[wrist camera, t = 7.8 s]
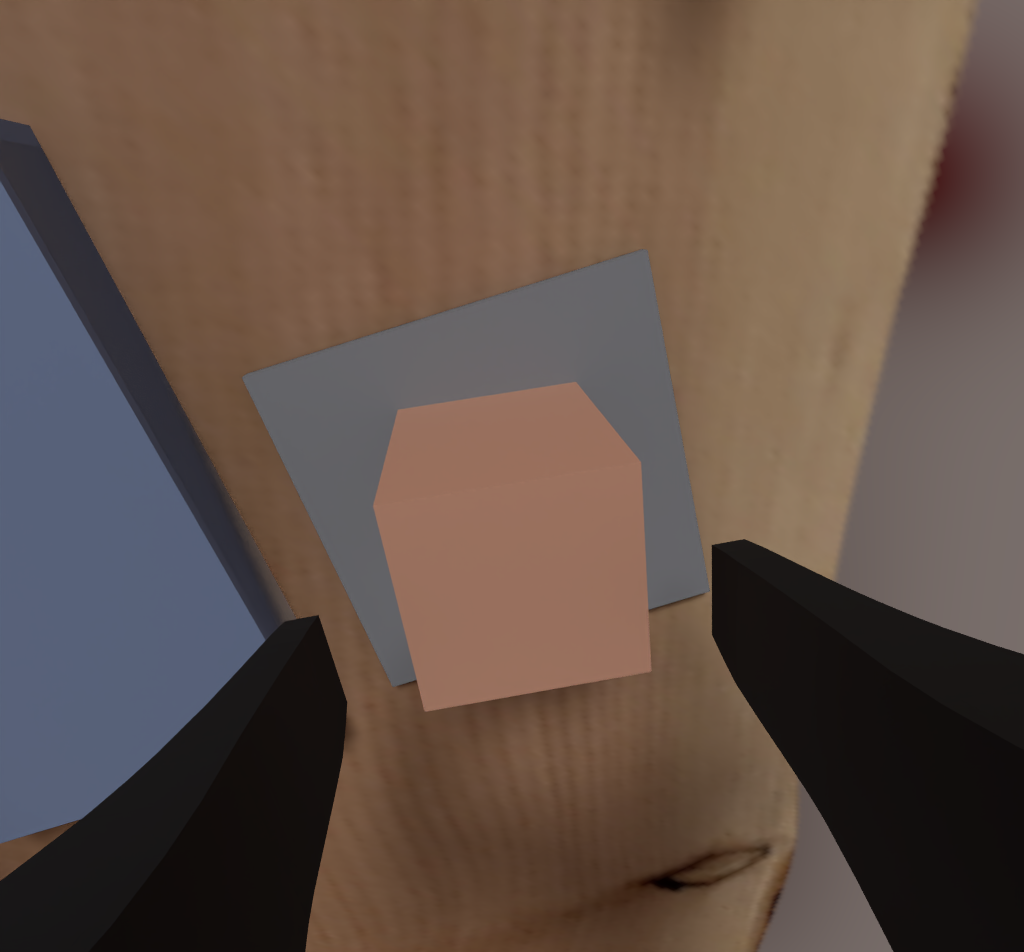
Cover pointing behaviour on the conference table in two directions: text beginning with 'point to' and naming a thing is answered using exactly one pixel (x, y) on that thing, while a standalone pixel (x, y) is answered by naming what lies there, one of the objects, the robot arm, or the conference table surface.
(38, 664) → the navy book
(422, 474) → the terracotta block
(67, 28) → the conference table surface
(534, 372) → the felt mat
